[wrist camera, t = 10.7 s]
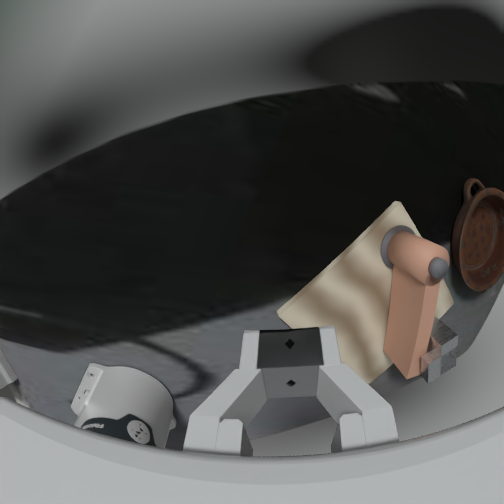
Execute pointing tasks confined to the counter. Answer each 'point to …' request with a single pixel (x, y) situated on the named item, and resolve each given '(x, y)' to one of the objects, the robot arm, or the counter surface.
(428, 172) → the counter surface
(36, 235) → the counter surface
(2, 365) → the hinge
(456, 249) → the dish
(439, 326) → the block
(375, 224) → the base board
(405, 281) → the link
